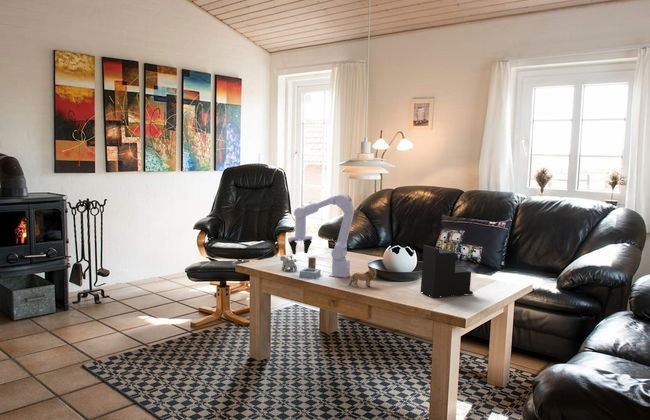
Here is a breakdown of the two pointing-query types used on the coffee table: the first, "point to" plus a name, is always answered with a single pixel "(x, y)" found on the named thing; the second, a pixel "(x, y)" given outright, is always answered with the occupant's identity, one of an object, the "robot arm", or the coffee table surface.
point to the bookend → (443, 274)
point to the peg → (312, 263)
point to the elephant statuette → (288, 262)
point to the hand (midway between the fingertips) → (299, 253)
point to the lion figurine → (363, 277)
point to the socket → (310, 273)
